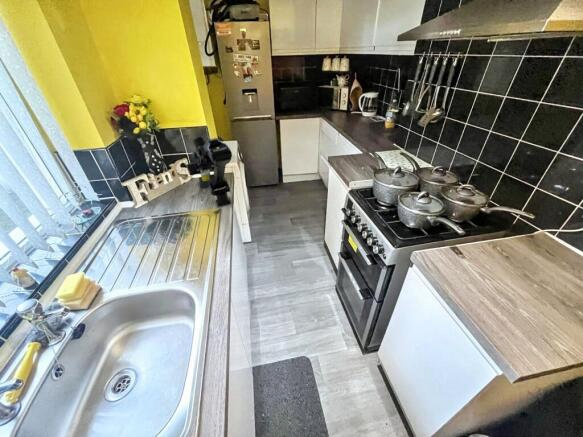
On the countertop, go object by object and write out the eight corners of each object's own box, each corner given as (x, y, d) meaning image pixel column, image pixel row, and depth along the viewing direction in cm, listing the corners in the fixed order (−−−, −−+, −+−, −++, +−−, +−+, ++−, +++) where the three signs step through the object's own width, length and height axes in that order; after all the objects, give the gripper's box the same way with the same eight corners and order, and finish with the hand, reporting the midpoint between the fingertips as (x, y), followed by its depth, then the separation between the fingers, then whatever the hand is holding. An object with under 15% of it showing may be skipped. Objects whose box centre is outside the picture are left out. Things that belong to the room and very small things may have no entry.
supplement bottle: (202, 185, 145) (197, 169, 140) (204, 180, 150) (200, 166, 144) (211, 184, 146) (207, 169, 140) (213, 180, 150) (209, 165, 144)
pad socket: (216, 184, 147) (214, 179, 145) (202, 188, 144) (201, 182, 142) (213, 179, 153) (212, 174, 150) (200, 182, 150) (198, 177, 148)
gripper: (216, 142, 135) (214, 156, 149) (181, 150, 127) (183, 163, 141) (224, 160, 134) (221, 172, 149) (190, 169, 127) (190, 181, 141)
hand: (204, 171), depth 145 cm, fingers closed on supplement bottle, 5 cm apart
